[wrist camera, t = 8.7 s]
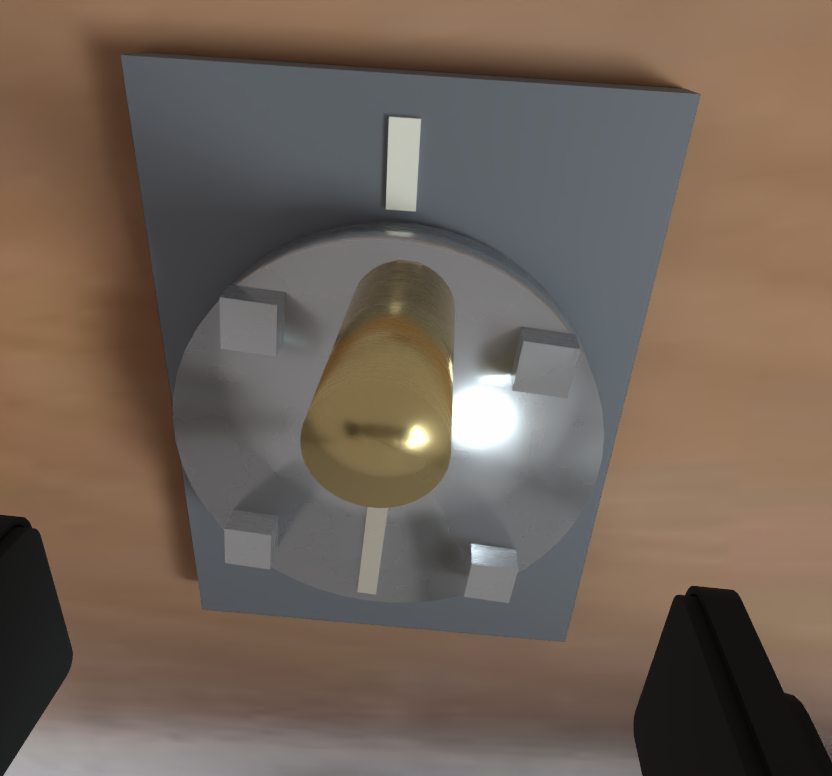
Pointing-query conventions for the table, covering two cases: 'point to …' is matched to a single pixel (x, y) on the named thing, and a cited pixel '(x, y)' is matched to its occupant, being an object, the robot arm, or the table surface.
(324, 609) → the base plate
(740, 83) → the table surface
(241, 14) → the table surface
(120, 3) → the table surface
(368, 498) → the disc with brass post
